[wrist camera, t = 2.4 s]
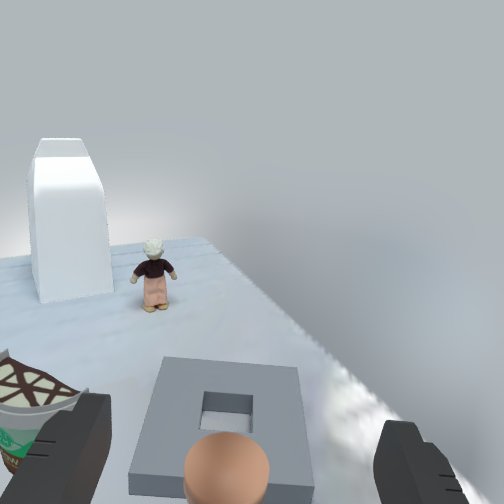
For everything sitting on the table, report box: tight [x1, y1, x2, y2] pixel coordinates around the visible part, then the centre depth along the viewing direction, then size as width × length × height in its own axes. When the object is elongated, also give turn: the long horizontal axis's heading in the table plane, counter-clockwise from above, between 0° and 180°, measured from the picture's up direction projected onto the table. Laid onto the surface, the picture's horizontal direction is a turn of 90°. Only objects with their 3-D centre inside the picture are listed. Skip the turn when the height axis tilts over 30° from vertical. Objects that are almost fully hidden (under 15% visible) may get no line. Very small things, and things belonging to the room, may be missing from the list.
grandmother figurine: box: [130, 238, 177, 312], centre depth 72 cm, size 8×4×13 cm, turn 128°
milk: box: [27, 138, 114, 304], centre depth 74 cm, size 12×12×26 cm
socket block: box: [128, 357, 315, 504], centre depth 51 cm, size 18×18×3 cm
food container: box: [0, 349, 89, 475], centre depth 43 cm, size 12×6×10 cm, turn 64°
